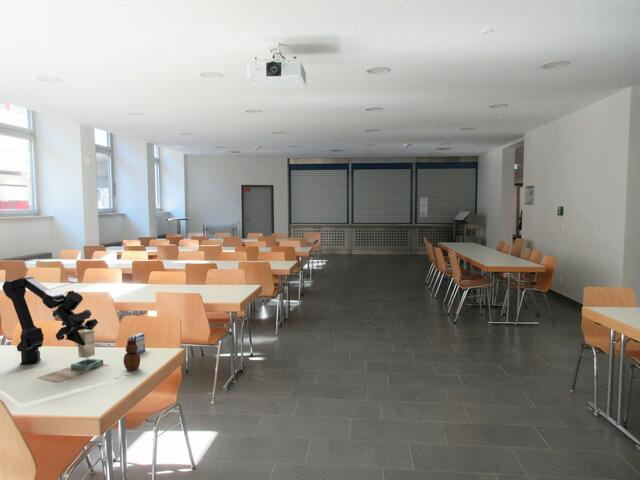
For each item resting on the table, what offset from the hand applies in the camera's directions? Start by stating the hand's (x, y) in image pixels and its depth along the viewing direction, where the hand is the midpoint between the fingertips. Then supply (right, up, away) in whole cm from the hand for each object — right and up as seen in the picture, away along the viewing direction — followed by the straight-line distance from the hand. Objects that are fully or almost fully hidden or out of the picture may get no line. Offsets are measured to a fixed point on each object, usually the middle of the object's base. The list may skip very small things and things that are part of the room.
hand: (88, 343), depth 204 cm
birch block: (-1, -6, +1) cm, 6 cm away
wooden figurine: (+19, -11, -1) cm, 22 cm away
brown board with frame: (-4, -12, -5) cm, 13 cm away
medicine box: (+11, -10, +25) cm, 29 cm away
